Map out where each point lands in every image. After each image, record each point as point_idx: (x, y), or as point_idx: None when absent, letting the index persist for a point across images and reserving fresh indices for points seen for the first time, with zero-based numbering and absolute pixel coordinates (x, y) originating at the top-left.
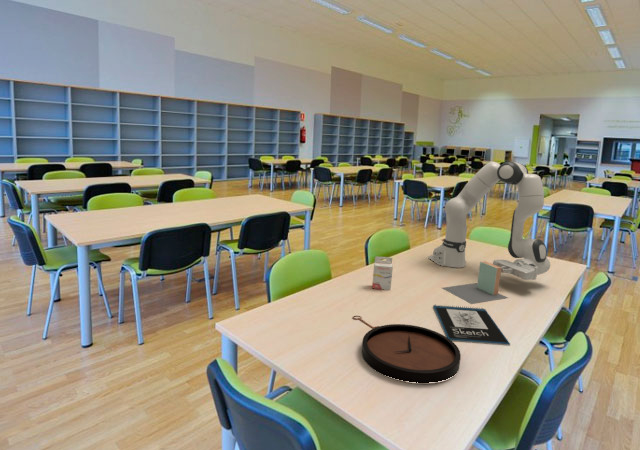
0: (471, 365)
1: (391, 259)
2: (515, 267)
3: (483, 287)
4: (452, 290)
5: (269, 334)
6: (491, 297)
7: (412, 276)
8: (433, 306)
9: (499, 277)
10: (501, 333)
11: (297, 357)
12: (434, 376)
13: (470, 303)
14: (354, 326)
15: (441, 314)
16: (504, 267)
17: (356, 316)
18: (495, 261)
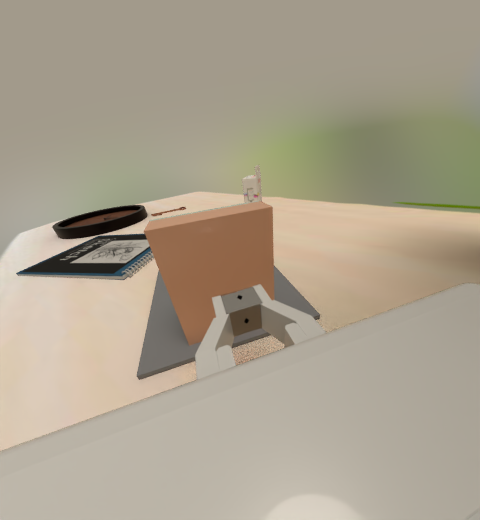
0: (51, 243)
1: (255, 169)
2: (186, 436)
3: None
4: None
5: (179, 197)
6: (171, 312)
7: (321, 226)
8: None
9: (164, 280)
10: (42, 272)
11: (148, 203)
12: (64, 223)
13: None
14: (169, 209)
15: None
16: (286, 329)
17: (185, 208)
18: (447, 289)
